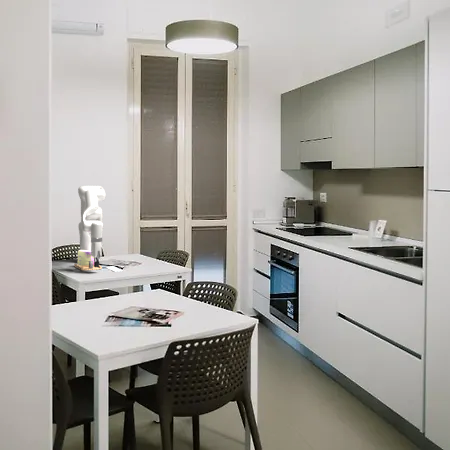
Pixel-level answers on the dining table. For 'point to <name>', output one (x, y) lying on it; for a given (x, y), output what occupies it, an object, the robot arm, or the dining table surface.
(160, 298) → the dining table surface
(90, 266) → the lane frame
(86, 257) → the box
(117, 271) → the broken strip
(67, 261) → the dining table surface
